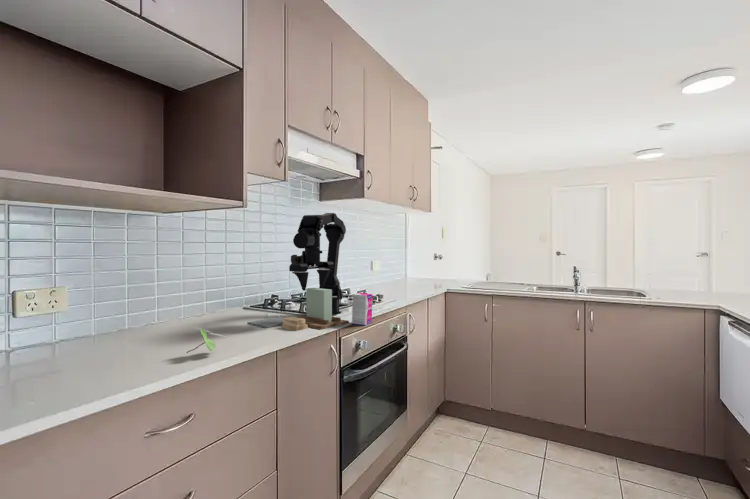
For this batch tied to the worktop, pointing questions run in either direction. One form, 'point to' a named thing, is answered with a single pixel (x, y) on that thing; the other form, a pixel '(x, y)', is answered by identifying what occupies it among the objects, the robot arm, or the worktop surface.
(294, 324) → the offcut upper
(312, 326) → the rack
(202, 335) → the seedling
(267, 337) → the worktop surface
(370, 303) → the supplement box
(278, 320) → the mat
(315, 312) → the sage green block
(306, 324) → the offcut lower
